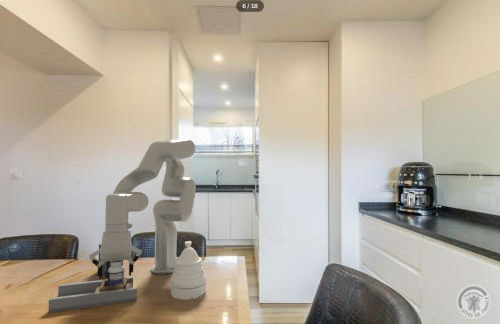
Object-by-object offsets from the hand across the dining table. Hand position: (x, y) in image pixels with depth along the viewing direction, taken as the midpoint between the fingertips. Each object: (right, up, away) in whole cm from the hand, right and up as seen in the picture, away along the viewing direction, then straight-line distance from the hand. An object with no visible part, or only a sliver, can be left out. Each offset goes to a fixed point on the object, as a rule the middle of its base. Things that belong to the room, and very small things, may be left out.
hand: (115, 276), depth 106 cm
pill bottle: (0, -5, 0) cm, 5 cm away
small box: (-13, -8, +23) cm, 27 cm away
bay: (-5, -7, -2) cm, 9 cm away
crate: (-1, -6, 0) cm, 6 cm away
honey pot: (+25, -8, +4) cm, 27 cm away
